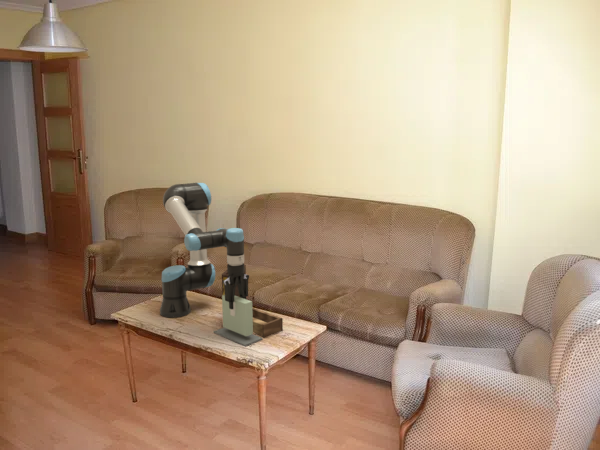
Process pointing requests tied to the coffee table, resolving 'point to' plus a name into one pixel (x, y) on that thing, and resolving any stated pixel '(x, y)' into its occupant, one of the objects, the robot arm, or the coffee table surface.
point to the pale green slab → (238, 316)
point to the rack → (268, 322)
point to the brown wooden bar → (258, 326)
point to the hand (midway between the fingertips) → (237, 314)
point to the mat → (238, 337)
